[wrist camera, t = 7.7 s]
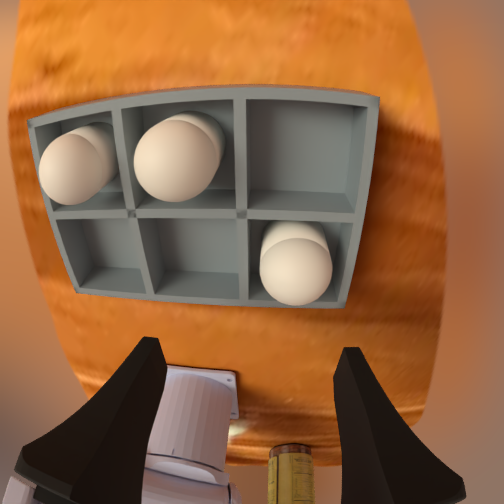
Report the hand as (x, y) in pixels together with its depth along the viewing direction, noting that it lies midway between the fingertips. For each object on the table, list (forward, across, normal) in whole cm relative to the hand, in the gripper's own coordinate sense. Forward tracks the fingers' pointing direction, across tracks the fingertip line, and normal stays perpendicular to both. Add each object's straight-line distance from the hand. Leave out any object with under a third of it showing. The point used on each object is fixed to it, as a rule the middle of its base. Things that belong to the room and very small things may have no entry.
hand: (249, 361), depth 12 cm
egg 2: (+8, +4, -6) cm, 11 cm away
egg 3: (+8, -2, -1) cm, 8 cm away
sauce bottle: (+9, -5, +34) cm, 35 cm away
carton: (+8, +4, -4) cm, 10 cm away
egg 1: (+8, +9, -6) cm, 13 cm away
